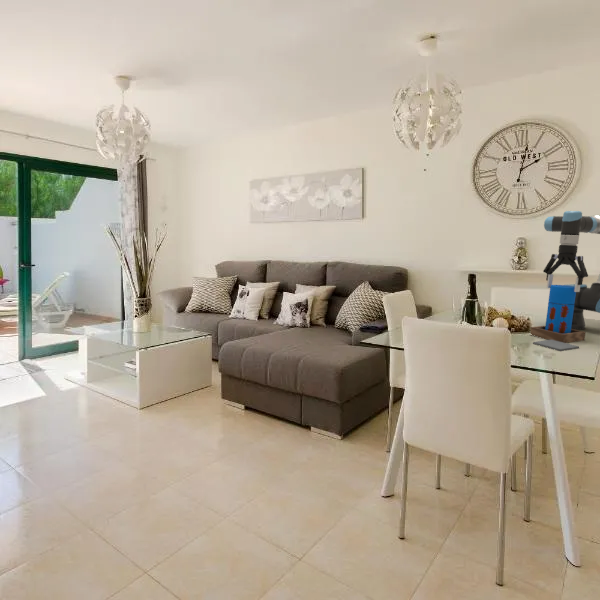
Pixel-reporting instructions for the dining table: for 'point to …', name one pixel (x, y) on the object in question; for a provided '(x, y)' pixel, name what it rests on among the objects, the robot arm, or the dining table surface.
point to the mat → (556, 345)
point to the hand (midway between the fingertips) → (562, 289)
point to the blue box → (560, 309)
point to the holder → (558, 335)
